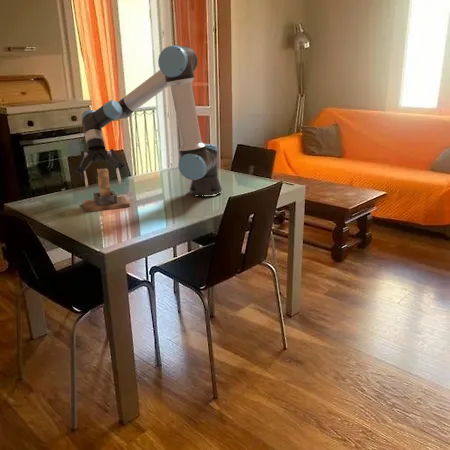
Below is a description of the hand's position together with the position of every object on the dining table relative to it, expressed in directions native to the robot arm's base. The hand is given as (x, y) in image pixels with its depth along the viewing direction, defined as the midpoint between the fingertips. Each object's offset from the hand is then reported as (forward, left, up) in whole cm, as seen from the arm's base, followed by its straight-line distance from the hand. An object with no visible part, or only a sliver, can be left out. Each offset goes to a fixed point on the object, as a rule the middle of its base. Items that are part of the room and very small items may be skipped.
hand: (103, 184), depth 191 cm
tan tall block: (0, -1, -8) cm, 8 cm away
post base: (0, -1, -10) cm, 10 cm away
